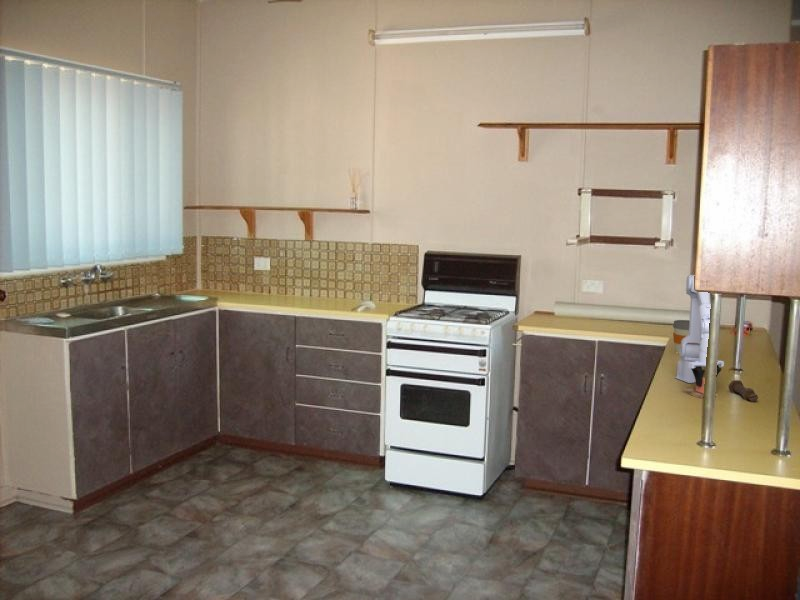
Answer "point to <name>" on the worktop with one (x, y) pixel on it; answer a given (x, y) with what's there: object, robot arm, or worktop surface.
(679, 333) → the reusable coffee cup
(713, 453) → the worktop surface
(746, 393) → the bolt
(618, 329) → the worktop surface
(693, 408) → the worktop surface
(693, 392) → the stub block
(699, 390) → the salmon cube
